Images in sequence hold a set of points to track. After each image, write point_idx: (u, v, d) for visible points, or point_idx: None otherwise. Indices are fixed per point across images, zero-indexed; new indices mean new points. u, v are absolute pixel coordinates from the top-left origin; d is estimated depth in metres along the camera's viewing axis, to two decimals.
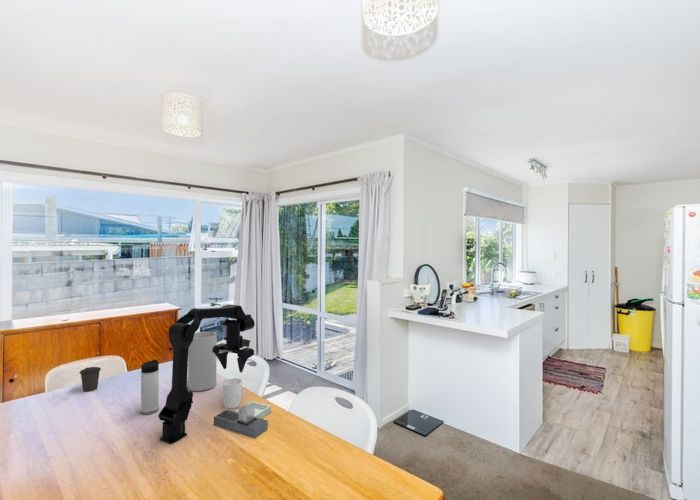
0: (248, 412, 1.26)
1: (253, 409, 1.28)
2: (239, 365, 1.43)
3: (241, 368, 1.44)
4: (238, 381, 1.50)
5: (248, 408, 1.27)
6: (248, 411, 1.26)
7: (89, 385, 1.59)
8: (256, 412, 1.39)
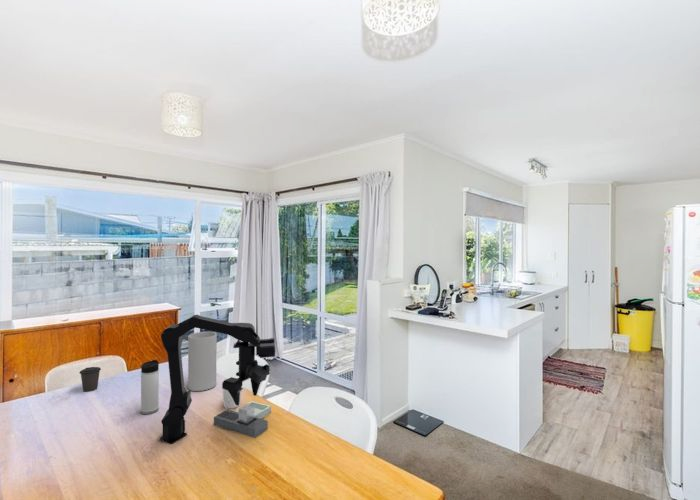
0: (248, 412, 1.26)
1: (253, 409, 1.28)
2: None
3: (234, 400, 1.23)
4: None
5: (248, 408, 1.27)
6: (248, 411, 1.26)
7: (89, 385, 1.59)
8: (256, 412, 1.39)
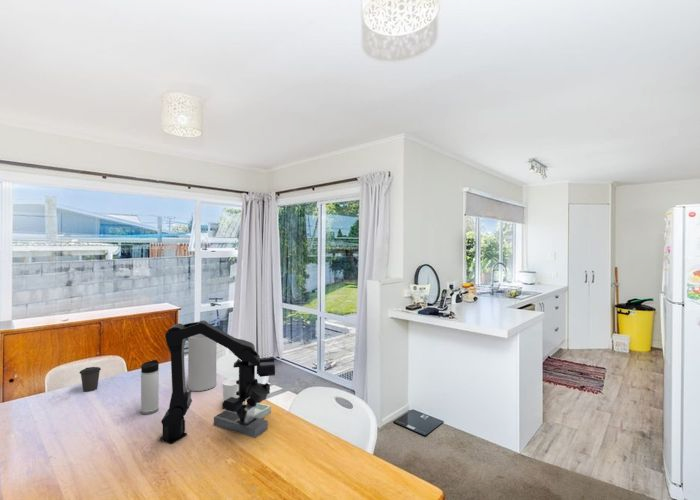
0: (248, 412, 1.26)
1: (253, 409, 1.28)
2: None
3: (239, 417, 1.25)
4: None
5: (248, 408, 1.27)
6: (248, 411, 1.26)
7: (89, 385, 1.59)
8: (256, 412, 1.39)
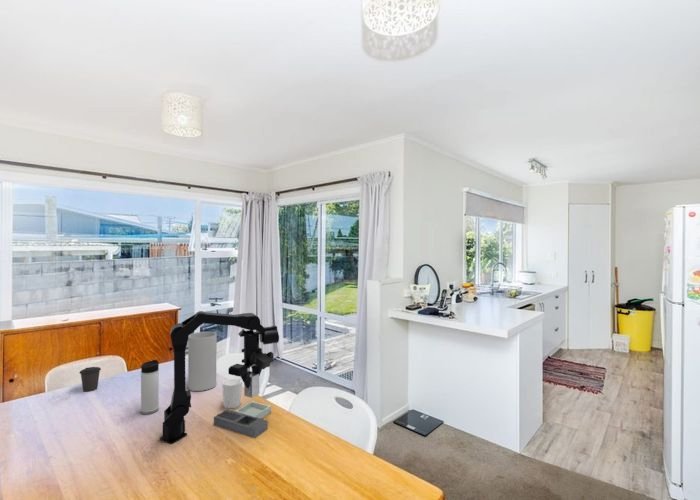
0: (253, 378, 1.32)
1: (257, 376, 1.34)
2: None
3: (245, 383, 1.32)
4: (238, 381, 1.50)
5: (253, 375, 1.33)
6: (253, 378, 1.32)
7: (89, 385, 1.59)
8: (256, 412, 1.39)
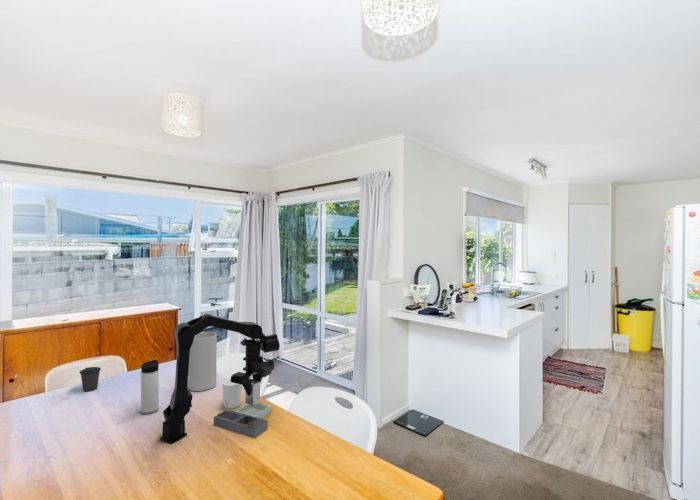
0: (254, 386, 1.36)
1: (258, 383, 1.38)
2: None
3: (246, 390, 1.36)
4: None
5: (254, 383, 1.37)
6: (254, 385, 1.36)
7: (89, 385, 1.59)
8: (256, 412, 1.39)
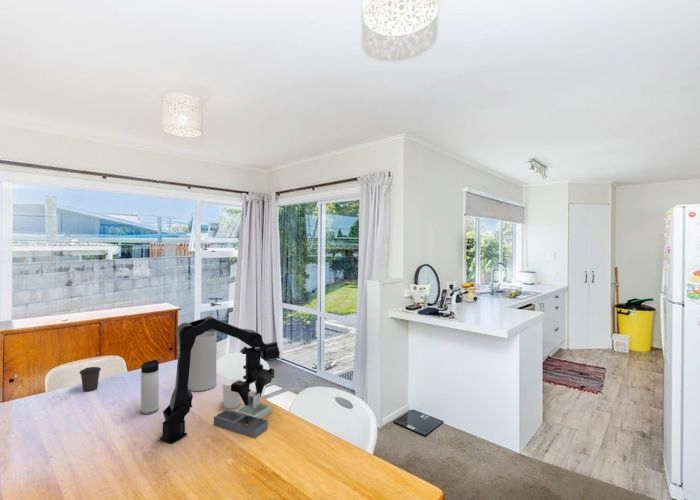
0: (254, 398, 1.36)
1: (258, 395, 1.38)
2: None
3: (243, 400, 1.34)
4: None
5: (254, 394, 1.37)
6: (254, 397, 1.36)
7: (89, 385, 1.59)
8: None
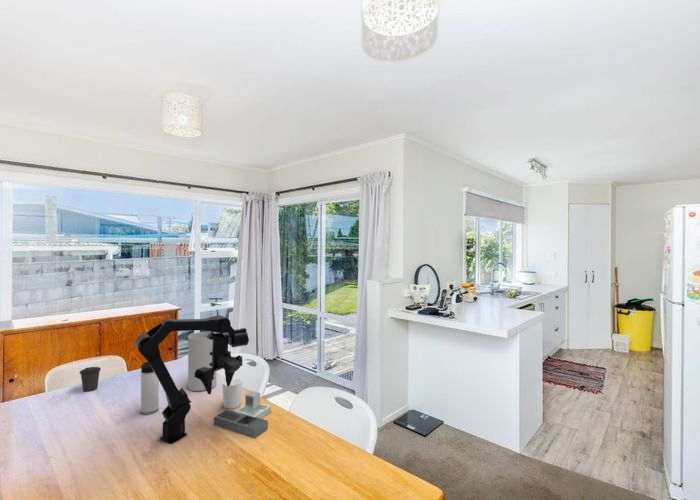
0: (254, 398, 1.36)
1: (258, 395, 1.38)
2: None
3: (206, 389, 1.27)
4: (238, 381, 1.50)
5: (254, 394, 1.37)
6: (254, 397, 1.36)
7: (89, 385, 1.59)
8: None
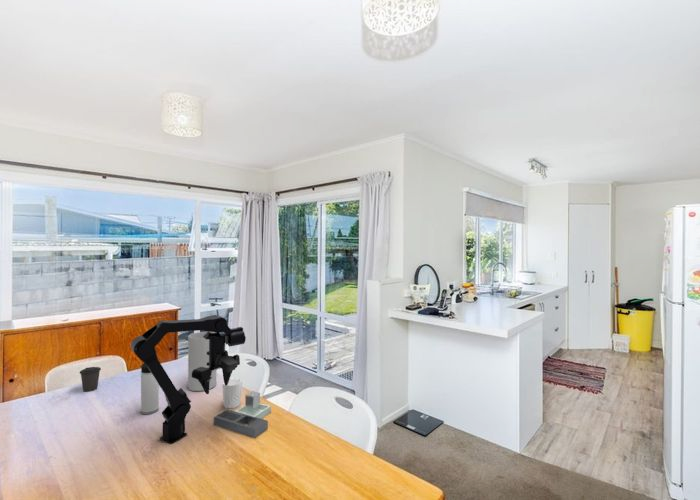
0: (254, 398, 1.36)
1: (258, 395, 1.38)
2: None
3: (204, 389, 1.27)
4: (238, 381, 1.50)
5: (254, 394, 1.37)
6: (254, 397, 1.36)
7: (89, 385, 1.59)
8: None
